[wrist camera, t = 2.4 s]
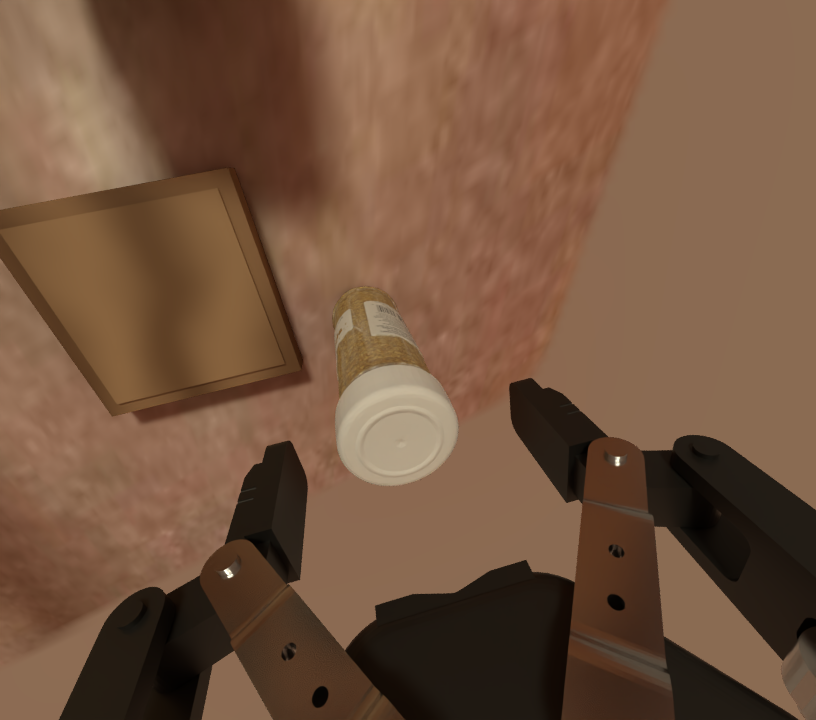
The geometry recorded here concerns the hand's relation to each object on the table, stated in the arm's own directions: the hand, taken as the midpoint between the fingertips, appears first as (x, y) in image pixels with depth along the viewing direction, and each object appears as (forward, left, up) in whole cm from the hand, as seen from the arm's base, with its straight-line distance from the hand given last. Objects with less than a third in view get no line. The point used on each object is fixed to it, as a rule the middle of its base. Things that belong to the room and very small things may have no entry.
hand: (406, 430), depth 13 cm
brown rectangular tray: (-11, +4, -13) cm, 18 cm away
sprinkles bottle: (0, 0, -13) cm, 13 cm away
